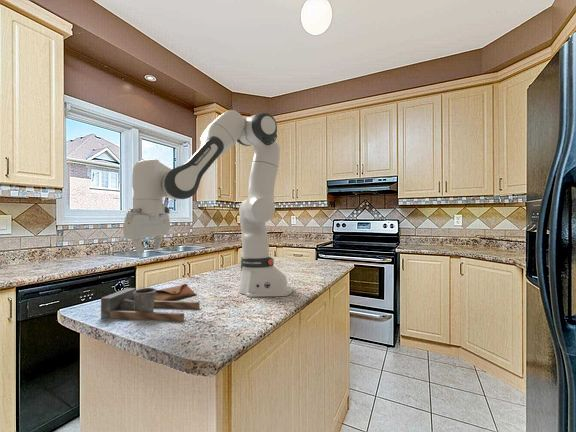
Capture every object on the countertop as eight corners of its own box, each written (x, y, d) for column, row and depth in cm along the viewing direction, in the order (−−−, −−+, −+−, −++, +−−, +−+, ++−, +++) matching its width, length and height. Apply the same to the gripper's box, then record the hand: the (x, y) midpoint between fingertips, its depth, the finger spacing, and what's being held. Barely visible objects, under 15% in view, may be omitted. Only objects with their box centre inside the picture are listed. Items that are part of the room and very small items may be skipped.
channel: (199, 307, 97) (199, 290, 97) (182, 321, 85) (182, 300, 85) (127, 305, 100) (127, 287, 100) (100, 317, 88) (101, 298, 88)
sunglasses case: (155, 305, 99) (150, 287, 101) (146, 312, 103) (141, 295, 105) (199, 294, 113) (194, 278, 115) (190, 300, 117) (185, 285, 119)
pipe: (130, 309, 95) (130, 285, 95) (161, 313, 91) (161, 288, 91) (114, 315, 89) (114, 290, 89) (147, 320, 86) (147, 293, 86)
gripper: (137, 208, 84) (138, 255, 84) (172, 209, 104) (173, 247, 104) (117, 208, 84) (118, 255, 84) (156, 209, 105) (156, 247, 105)
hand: (148, 250), depth 94 cm, fingers open, 8 cm apart
